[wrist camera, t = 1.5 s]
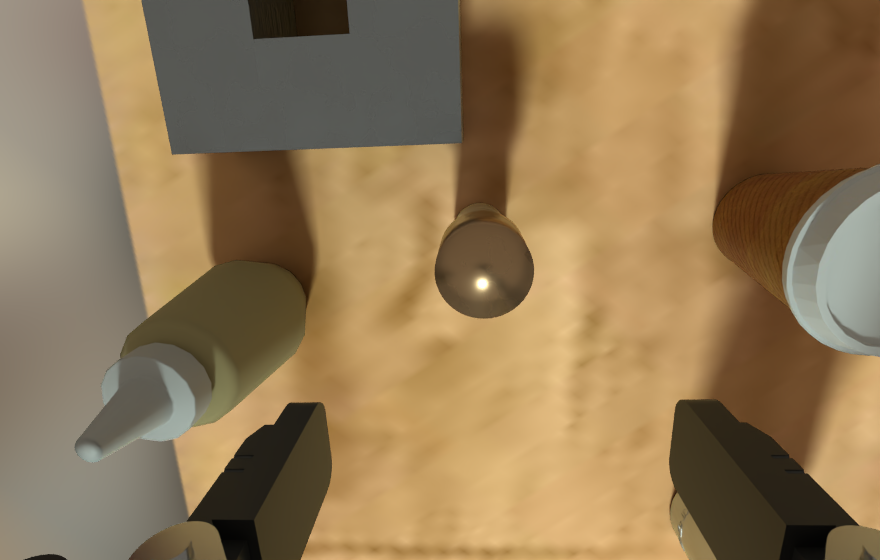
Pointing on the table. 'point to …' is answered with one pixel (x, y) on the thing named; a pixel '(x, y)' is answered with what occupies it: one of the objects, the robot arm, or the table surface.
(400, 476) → the table surface
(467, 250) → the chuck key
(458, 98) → the block
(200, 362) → the squeeze bottle
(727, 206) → the disposable coffee cup
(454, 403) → the table surface
